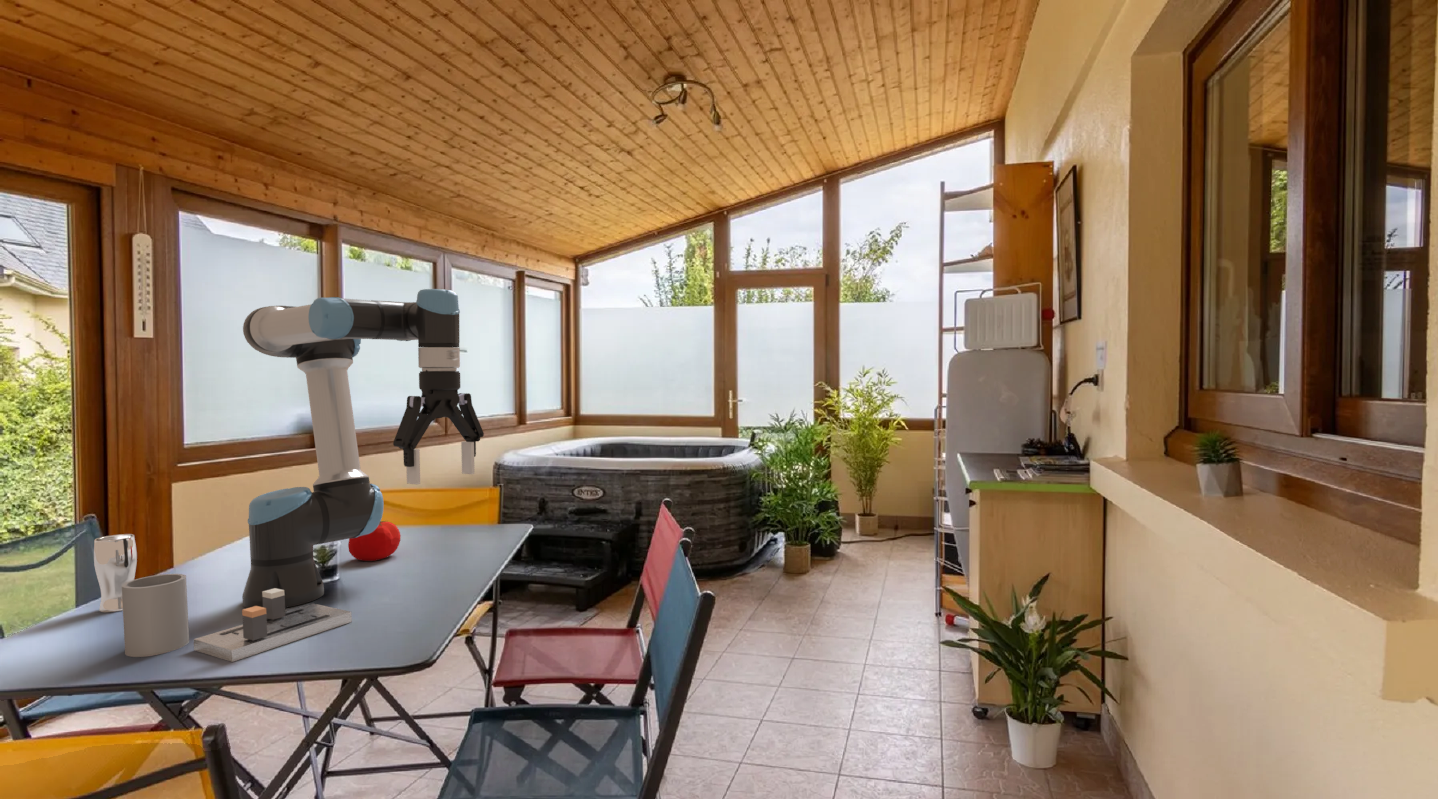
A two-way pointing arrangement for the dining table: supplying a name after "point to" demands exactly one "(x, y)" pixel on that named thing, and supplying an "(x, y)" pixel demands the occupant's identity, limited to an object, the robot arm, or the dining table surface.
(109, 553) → the beer glass
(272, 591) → the fader far
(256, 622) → the fader near
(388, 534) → the tomato
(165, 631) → the cup
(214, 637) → the console
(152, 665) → the dining table surface
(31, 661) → the dining table surface
